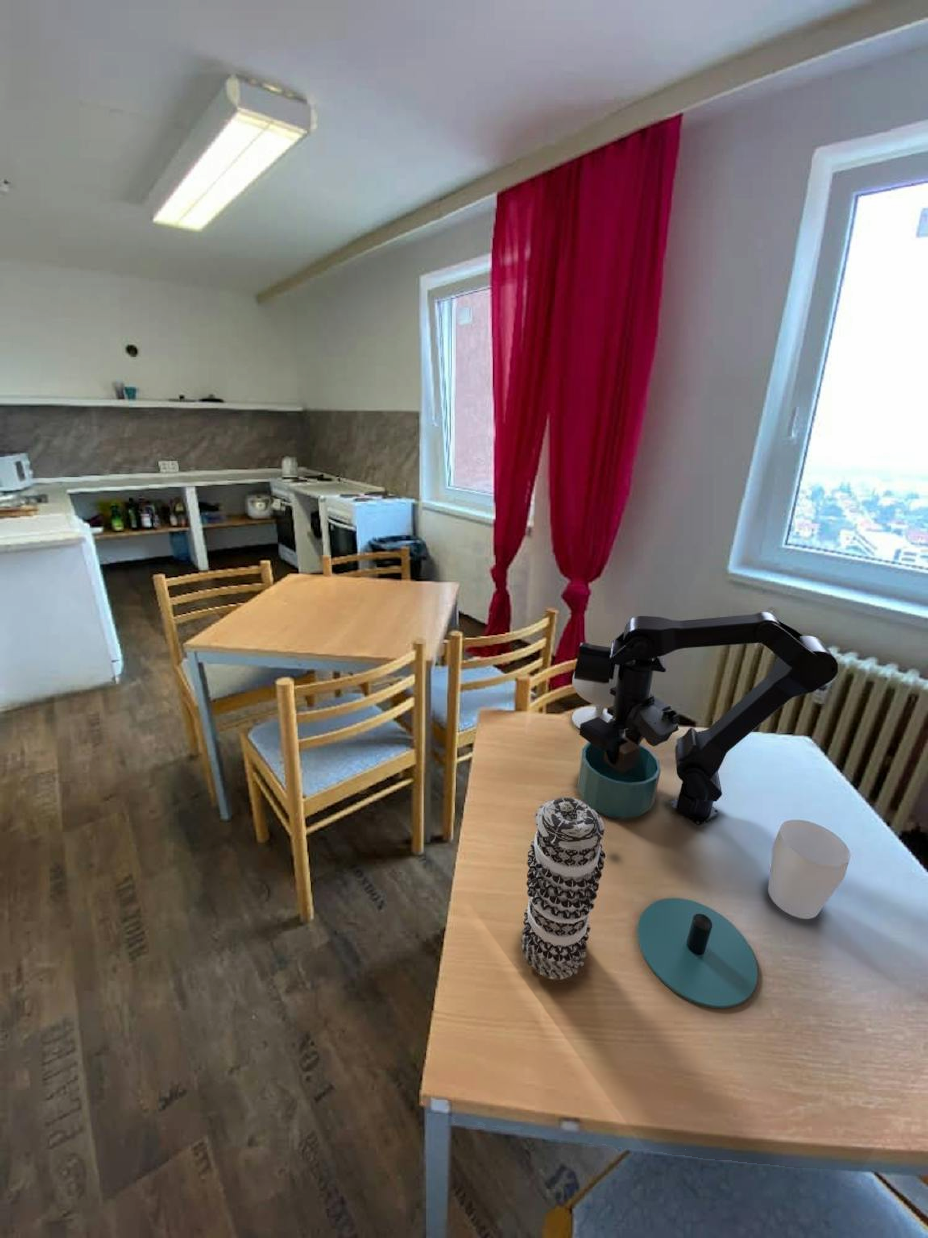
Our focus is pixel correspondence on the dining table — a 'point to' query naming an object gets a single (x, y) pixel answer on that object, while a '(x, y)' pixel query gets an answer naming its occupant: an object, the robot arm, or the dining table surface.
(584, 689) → the chalice
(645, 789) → the bin
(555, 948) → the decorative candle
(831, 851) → the cup
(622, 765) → the block
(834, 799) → the dining table surface
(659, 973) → the bin lid
